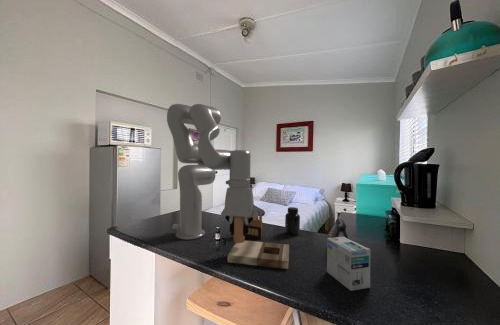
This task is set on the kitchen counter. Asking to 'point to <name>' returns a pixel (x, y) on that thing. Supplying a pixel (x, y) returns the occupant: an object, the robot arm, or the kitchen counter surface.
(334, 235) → the phone stand
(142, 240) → the kitchen counter surface
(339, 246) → the light bulb box
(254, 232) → the ammunition clip
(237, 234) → the peg
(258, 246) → the plywood deck
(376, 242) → the kitchen counter surface
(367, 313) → the kitchen counter surface
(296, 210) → the supplement bottle
